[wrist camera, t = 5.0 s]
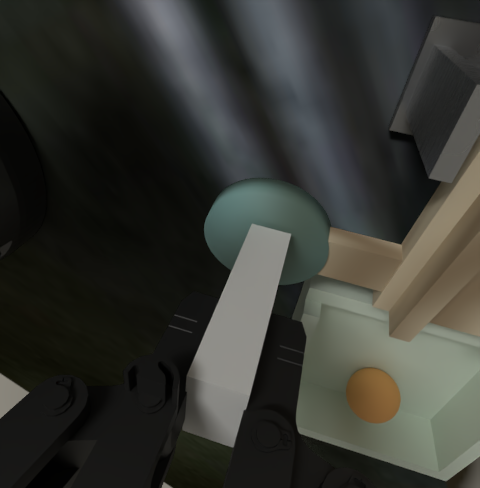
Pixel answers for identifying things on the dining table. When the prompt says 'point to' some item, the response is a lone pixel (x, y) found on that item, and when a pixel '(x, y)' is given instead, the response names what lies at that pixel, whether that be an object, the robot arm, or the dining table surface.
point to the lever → (370, 248)
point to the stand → (443, 97)
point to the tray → (399, 369)
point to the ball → (373, 395)
